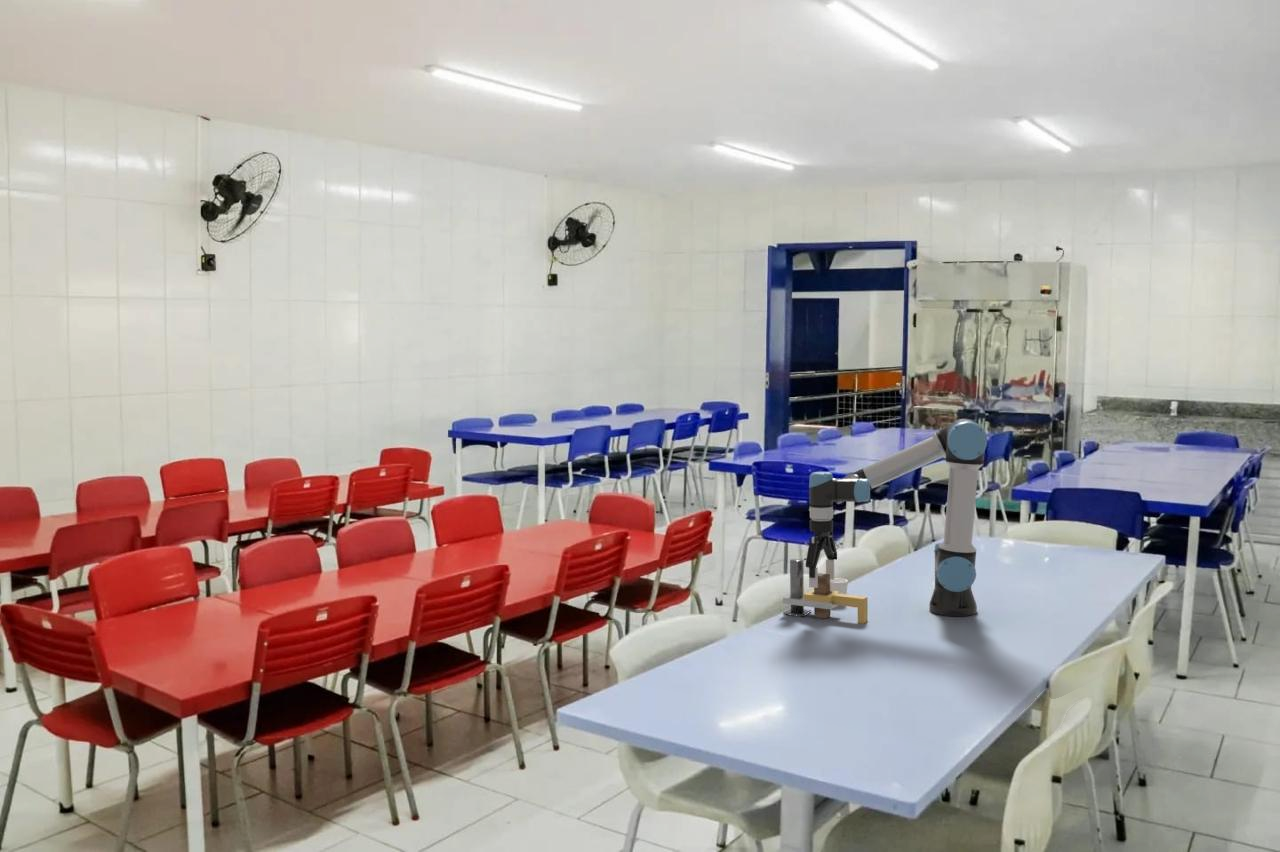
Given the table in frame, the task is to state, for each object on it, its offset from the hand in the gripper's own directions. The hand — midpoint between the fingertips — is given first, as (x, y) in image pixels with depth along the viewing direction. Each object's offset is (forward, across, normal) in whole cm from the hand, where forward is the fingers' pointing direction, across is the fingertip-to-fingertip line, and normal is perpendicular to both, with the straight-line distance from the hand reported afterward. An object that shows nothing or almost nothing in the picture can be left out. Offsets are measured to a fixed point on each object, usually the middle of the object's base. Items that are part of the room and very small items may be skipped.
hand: (821, 583), depth 347 cm
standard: (+11, 0, -4) cm, 12 cm away
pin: (+11, 0, 0) cm, 11 cm away
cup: (+11, -19, -4) cm, 23 cm away
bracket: (+11, 0, +5) cm, 12 cm away
